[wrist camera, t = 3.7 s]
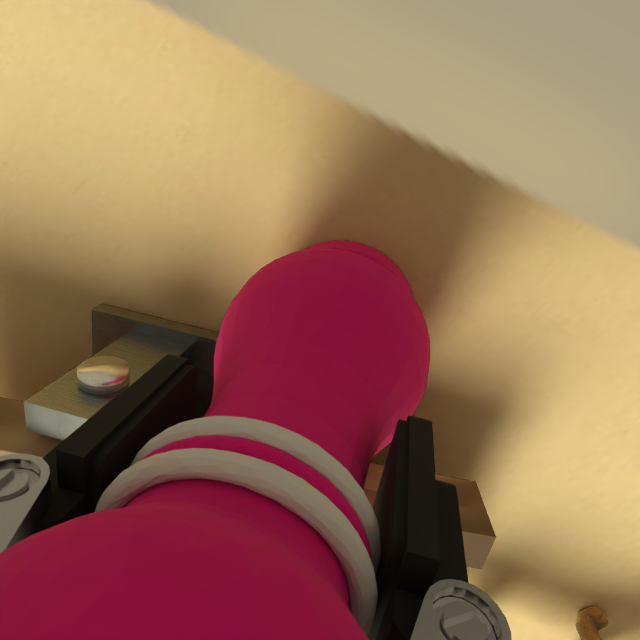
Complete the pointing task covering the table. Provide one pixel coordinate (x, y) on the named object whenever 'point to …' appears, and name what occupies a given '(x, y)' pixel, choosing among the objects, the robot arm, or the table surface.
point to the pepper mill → (248, 477)
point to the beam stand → (120, 368)
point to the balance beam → (478, 536)
